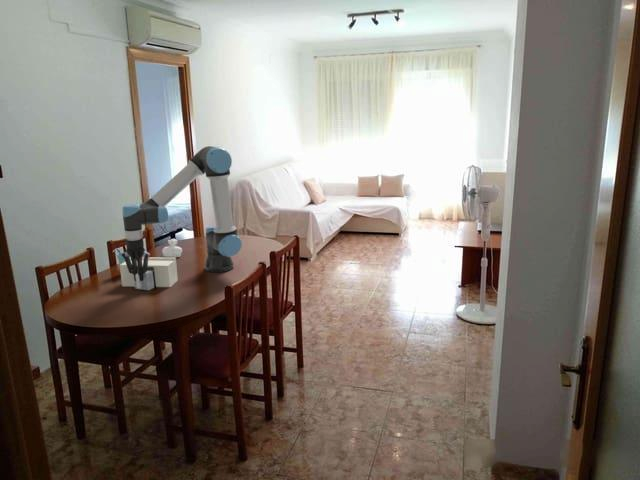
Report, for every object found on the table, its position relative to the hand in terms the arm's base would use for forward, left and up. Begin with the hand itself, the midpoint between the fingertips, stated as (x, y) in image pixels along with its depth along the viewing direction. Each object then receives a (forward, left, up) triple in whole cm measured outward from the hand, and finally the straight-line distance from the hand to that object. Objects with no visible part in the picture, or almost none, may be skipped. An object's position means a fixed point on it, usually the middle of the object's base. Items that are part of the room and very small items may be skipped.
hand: (139, 287), depth 234 cm
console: (0, -11, -2) cm, 11 cm away
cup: (+19, -24, -2) cm, 31 cm away
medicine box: (-1, -4, -2) cm, 4 cm away
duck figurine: (+7, -58, -2) cm, 59 cm away
